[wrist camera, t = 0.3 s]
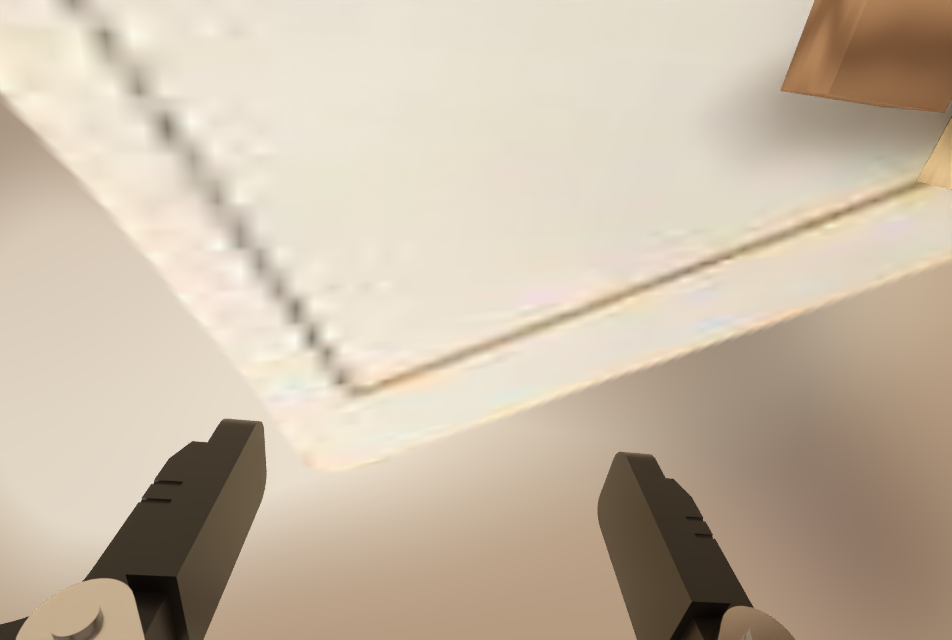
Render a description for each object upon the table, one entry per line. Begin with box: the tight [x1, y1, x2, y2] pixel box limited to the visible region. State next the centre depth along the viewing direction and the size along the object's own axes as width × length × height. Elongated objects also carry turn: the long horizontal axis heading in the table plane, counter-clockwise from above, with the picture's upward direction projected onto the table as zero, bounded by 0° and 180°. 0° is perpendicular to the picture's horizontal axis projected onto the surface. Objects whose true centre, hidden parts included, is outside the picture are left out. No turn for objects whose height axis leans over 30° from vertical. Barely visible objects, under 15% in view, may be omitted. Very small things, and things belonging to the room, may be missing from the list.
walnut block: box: [781, 0, 952, 112], centre depth 31 cm, size 7×8×5 cm
